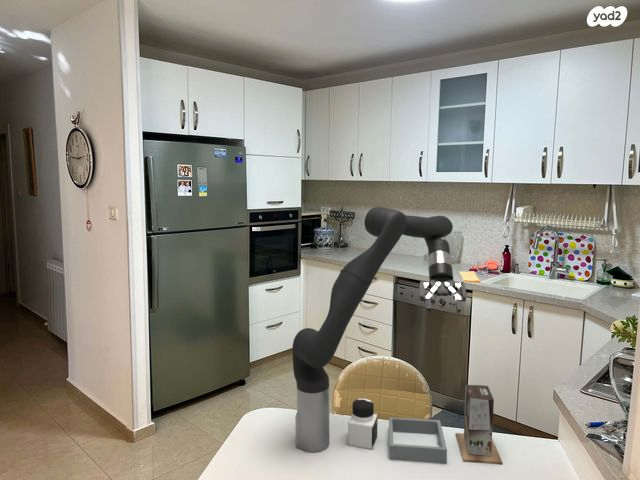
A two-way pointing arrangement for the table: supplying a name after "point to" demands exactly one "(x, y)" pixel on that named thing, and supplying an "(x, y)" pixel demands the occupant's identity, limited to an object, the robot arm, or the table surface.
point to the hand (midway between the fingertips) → (444, 311)
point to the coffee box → (478, 419)
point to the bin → (416, 451)
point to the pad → (477, 458)
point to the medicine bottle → (362, 424)
